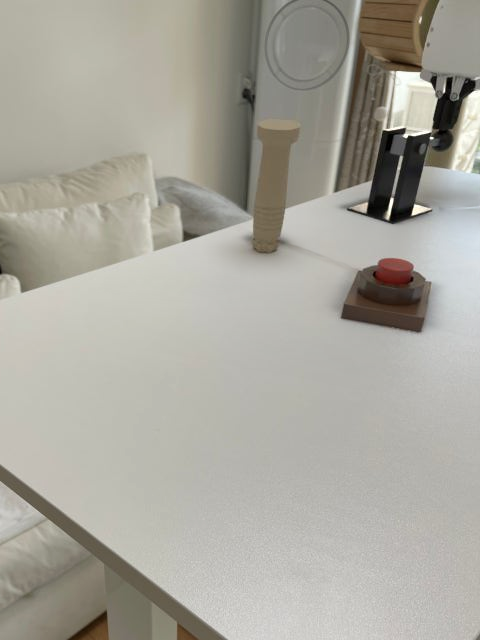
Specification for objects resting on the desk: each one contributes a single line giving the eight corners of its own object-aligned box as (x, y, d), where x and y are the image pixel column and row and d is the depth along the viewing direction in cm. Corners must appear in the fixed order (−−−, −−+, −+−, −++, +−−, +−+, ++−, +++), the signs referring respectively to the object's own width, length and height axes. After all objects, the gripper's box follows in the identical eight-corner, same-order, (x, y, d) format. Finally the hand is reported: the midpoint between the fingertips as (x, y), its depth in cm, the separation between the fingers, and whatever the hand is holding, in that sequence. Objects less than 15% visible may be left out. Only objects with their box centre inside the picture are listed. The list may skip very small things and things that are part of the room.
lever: (434, 149, 99) (440, 126, 97) (453, 153, 97) (460, 130, 95) (385, 155, 92) (391, 131, 90) (405, 160, 90) (411, 135, 88)
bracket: (385, 204, 101) (402, 122, 95) (430, 217, 96) (452, 131, 90) (345, 216, 96) (361, 130, 89) (391, 230, 91) (411, 140, 84)
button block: (355, 284, 75) (361, 254, 73) (427, 296, 73) (435, 266, 71) (340, 318, 68) (346, 287, 66) (420, 333, 65) (429, 301, 63)
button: (377, 271, 70) (380, 255, 69) (411, 276, 69) (415, 260, 68) (372, 283, 68) (376, 267, 67) (408, 288, 67) (412, 272, 66)
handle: (285, 242, 86) (301, 120, 78) (281, 260, 81) (298, 131, 73) (249, 239, 87) (260, 118, 78) (243, 256, 82) (255, 128, 73)
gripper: (552, -21, 82) (504, 135, 93) (445, -24, 91) (412, 118, 102) (524, -22, 78) (477, 141, 89) (415, -25, 87) (384, 123, 98)
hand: (442, 128), depth 95 cm, fingers closed
